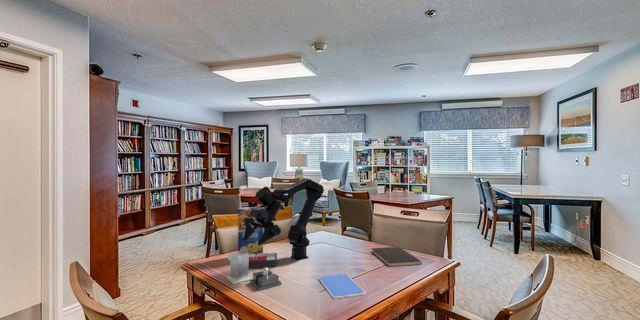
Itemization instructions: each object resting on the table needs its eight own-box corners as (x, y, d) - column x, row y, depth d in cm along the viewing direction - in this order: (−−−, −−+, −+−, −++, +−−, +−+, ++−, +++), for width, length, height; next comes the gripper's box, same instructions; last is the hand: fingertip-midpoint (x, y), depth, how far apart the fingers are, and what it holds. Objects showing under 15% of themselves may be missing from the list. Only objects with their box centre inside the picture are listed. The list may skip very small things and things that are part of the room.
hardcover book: (388, 267, 140) (388, 262, 140) (371, 252, 163) (371, 248, 163) (421, 265, 143) (421, 260, 143) (400, 250, 166) (400, 246, 166)
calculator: (244, 253, 149) (276, 251, 150) (245, 262, 149) (276, 260, 150) (241, 261, 138) (275, 258, 139) (242, 271, 138) (276, 267, 139)
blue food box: (263, 253, 159) (263, 207, 159) (263, 258, 152) (263, 209, 152) (239, 255, 157) (239, 207, 157) (237, 259, 150) (237, 210, 150)
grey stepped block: (240, 274, 129) (240, 250, 129) (248, 277, 126) (248, 252, 126) (225, 280, 123) (225, 254, 123) (233, 283, 120) (233, 257, 120)
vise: (270, 277, 127) (270, 262, 127) (281, 284, 120) (281, 269, 120) (250, 282, 122) (250, 267, 122) (259, 290, 115) (259, 274, 115)
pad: (245, 274, 131) (245, 273, 131) (252, 280, 125) (252, 278, 125) (227, 278, 126) (227, 277, 126) (233, 284, 120) (233, 283, 120)
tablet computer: (366, 296, 111) (366, 292, 111) (333, 300, 107) (333, 297, 107) (346, 276, 130) (346, 273, 130) (317, 280, 126) (317, 276, 126)
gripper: (246, 199, 139) (225, 228, 131) (276, 203, 128) (255, 236, 120) (259, 213, 146) (240, 242, 137) (289, 219, 135) (270, 251, 126)
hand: (250, 242), depth 130 cm, fingers open, 9 cm apart
